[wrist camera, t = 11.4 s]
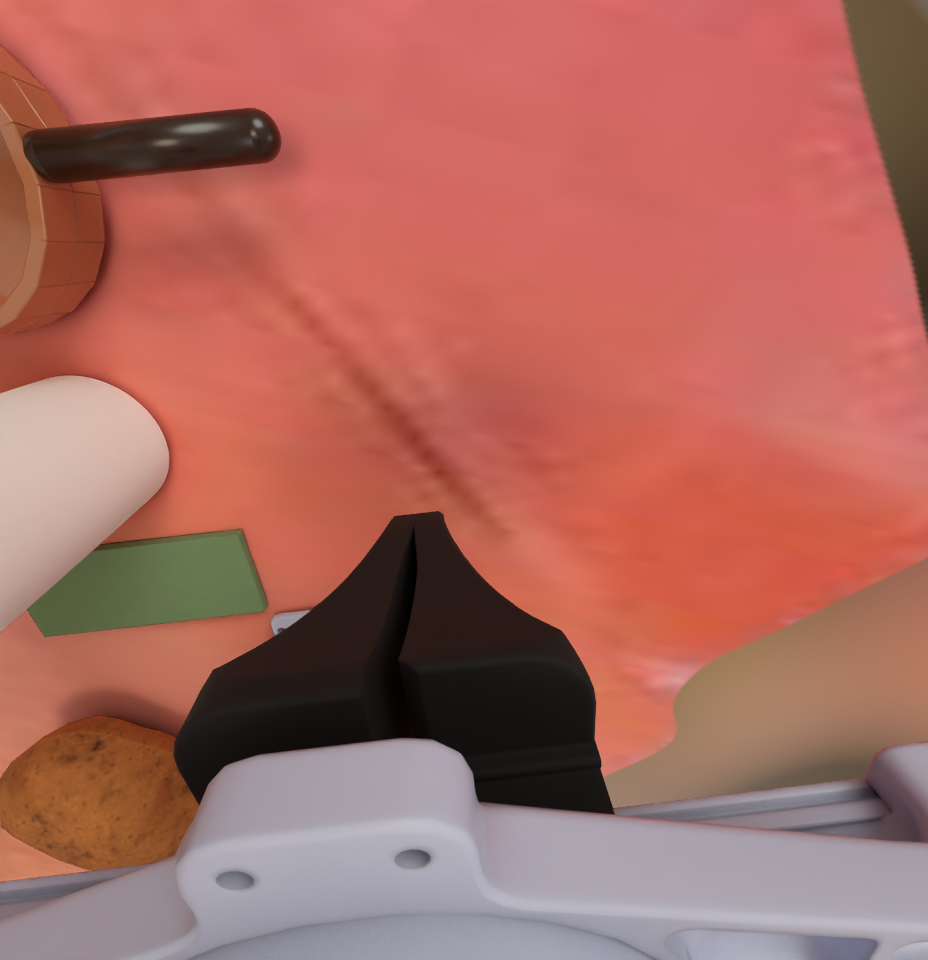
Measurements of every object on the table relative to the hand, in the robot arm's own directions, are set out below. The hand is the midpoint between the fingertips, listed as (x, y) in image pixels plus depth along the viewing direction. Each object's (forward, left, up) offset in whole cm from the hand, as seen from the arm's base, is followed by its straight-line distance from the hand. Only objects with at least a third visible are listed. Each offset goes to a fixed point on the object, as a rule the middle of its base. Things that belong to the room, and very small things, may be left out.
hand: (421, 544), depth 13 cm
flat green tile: (-7, +16, -10) cm, 20 cm away
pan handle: (+11, +7, -8) cm, 15 cm away
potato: (-20, +20, -11) cm, 30 cm away
